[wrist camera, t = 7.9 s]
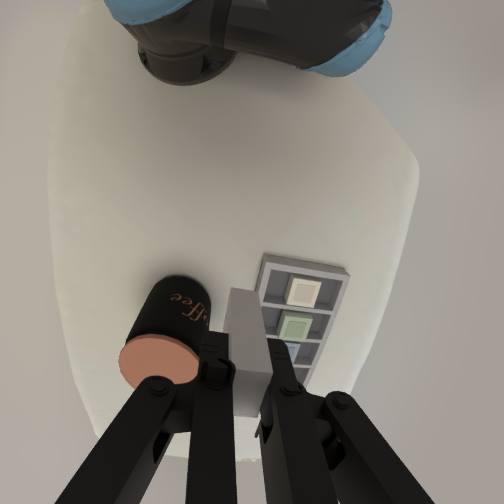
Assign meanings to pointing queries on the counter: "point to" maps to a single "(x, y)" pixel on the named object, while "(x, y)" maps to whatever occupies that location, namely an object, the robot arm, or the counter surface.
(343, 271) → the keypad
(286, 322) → the key sage
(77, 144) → the counter surface
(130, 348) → the coffee jar
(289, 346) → the key slate
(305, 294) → the key ivory
